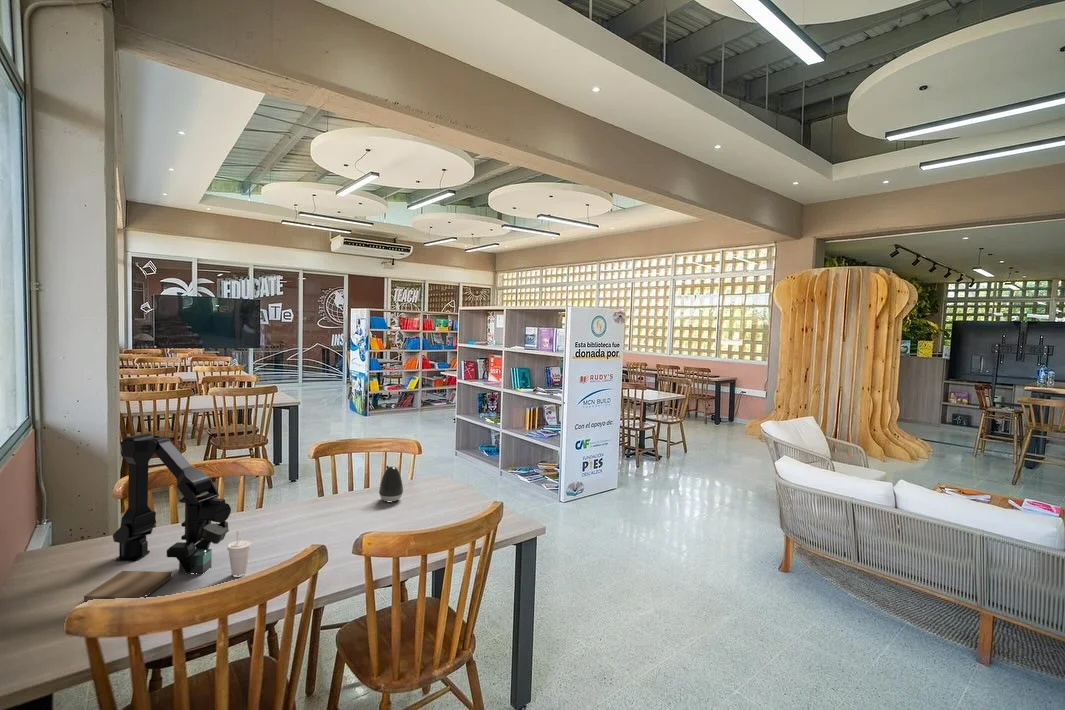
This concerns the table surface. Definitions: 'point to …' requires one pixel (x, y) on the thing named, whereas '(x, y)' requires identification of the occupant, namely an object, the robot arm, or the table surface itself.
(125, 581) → the stand
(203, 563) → the housing
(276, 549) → the table surface
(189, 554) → the robot arm
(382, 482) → the black egg-shaped speaker
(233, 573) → the smoothie
